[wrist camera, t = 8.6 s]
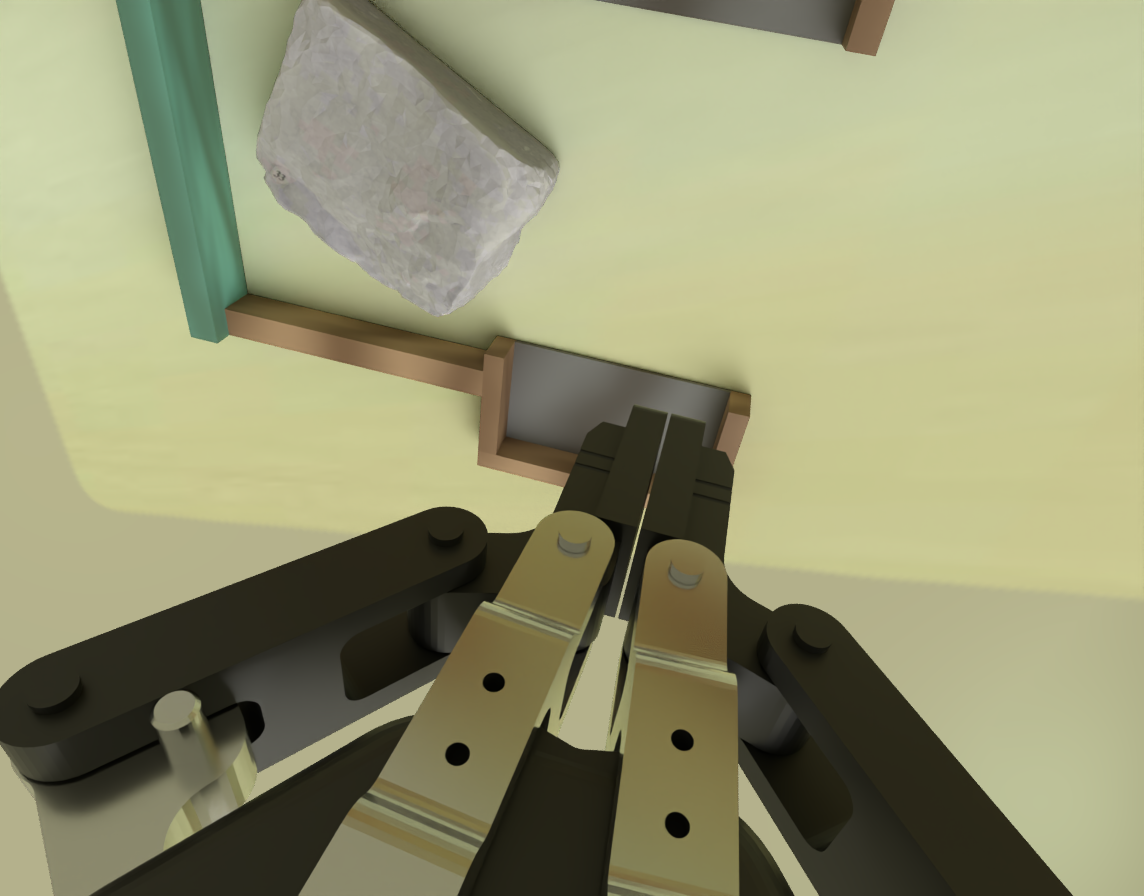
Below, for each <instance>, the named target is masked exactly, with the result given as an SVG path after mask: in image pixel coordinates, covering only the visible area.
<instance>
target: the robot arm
mask: <svg viewBox="0 0 1144 896" xmlns="http://www.w3.org/2000/svg"><path fill="white" fill-rule="evenodd" d="M667 416H668V412H664V411H660V410H656V409H652V408H648V407H644V406H640V405H636V404H634V405H633V408H632V411H631V414H630V416H629V419H628V422H627V425H626V427H623V426H619V425H615V424H611V423H607V422H602V423H600V424H599V425H597V426H596V427H595V428H593V429H592V430H591V431H589V432H588V433H587V435H586V437H585V439H584V442H583V444H582V446H581V449H580V452H579V453H578V456H577V458H576V461H575V464H574V465H573V468H572V470H571V472H570V475H569V477H568V479H567V482H566V484H565V487H564V489H563V491H562V494H561V496H560V498H559V501H558V503H557V505H556V508H555V510H554V512H553V514H550V515H548V516H547V517H545V518H544V519H542V520H541V521H540V522H539V524H538V525H537V527H536V528H535V529H533V530H530V531H526V532H521V533H487V529H486V526H485V524H484V523H483V522H482V520H481V519H480V518H479V517H478V516H476V515H475V514H473V513H471V512H469V511H467V510H464V509H461V508H456V507H437V508H432V509H429V510H425V511H423V512H420V513H418V514H415V515H412V516H410V517H407V518H404V519H402V520H399V521H397V522H394V523H391V524H389V525H386V526H384V527H381V528H378V529H376V530H373V531H370V532H368V533H365V534H363V535H360V536H357V537H355V538H352V539H350V540H347V541H344V542H342V543H339V544H336V545H334V546H331V547H329V548H326V549H324V550H321V551H318V552H316V553H313V554H310V555H308V556H305V557H303V558H300V559H297V560H295V561H292V562H289V563H287V564H284V565H281V566H279V567H276V568H274V569H271V570H268V571H266V572H263V573H261V574H258V575H255V576H253V577H250V578H247V579H245V580H242V581H240V582H237V583H234V584H232V585H229V586H226V587H224V588H221V589H219V590H216V591H213V592H211V593H208V594H206V595H203V596H200V597H198V598H195V599H193V600H190V601H187V602H185V603H182V604H179V605H177V606H174V607H172V608H169V609H166V610H164V611H161V612H158V613H156V614H153V615H151V616H148V617H145V618H143V619H140V620H138V621H135V622H132V623H130V624H127V625H124V626H122V627H119V628H116V629H114V630H111V631H109V632H106V633H103V634H101V635H98V636H96V637H93V638H90V639H88V640H85V641H82V642H80V643H77V644H75V645H72V646H69V647H67V648H64V649H61V650H59V651H56V652H54V653H51V654H49V655H46V656H44V657H41V658H39V659H37V660H35V661H33V662H31V663H30V664H28V665H26V666H25V667H23V668H22V669H20V670H19V671H18V672H16V673H15V674H14V675H13V676H11V677H10V678H9V679H8V680H7V681H6V683H4V684H3V685H2V687H1V688H0V745H1V747H2V748H3V749H4V751H5V752H6V754H7V755H8V756H9V757H10V760H11V765H12V767H13V770H14V772H15V773H16V775H17V776H18V777H19V778H20V780H21V782H22V783H23V784H24V786H25V787H26V788H27V790H28V791H29V793H30V794H31V795H32V797H33V798H34V800H35V801H36V804H37V810H38V815H39V820H40V825H41V831H42V836H43V841H44V847H45V851H46V857H47V863H48V867H49V873H50V878H51V884H52V889H53V894H54V896H794V894H793V892H792V890H791V889H790V887H789V885H788V883H787V881H786V879H785V878H784V876H783V874H782V872H781V871H780V869H779V867H778V865H777V864H776V862H775V860H774V858H773V857H772V855H771V854H770V852H769V851H768V850H767V848H766V847H765V845H764V844H763V842H762V841H761V840H760V838H759V837H758V836H757V835H756V834H755V833H754V832H753V830H752V829H751V828H750V827H749V826H748V825H747V824H746V823H745V822H744V821H743V820H742V819H741V818H740V817H739V812H738V810H739V808H738V807H739V806H738V764H739V765H740V767H741V769H742V770H743V771H744V774H745V775H746V777H747V778H748V780H749V782H750V783H751V785H752V787H753V788H754V790H755V791H756V793H757V795H758V796H759V798H760V800H761V801H762V803H763V805H764V806H765V808H766V809H767V811H768V813H769V814H770V816H771V818H772V819H773V821H774V823H775V824H776V826H777V827H778V829H779V831H780V832H781V834H782V836H783V837H784V839H785V841H786V842H787V844H788V845H789V847H790V849H791V850H792V852H793V854H794V855H795V857H796V858H797V860H798V862H799V863H800V865H801V867H802V868H803V870H804V872H805V873H806V874H807V877H808V878H809V880H810V881H811V883H812V885H813V886H814V888H815V890H816V891H817V893H818V894H819V896H1073V895H1072V894H1071V893H1070V892H1069V891H1068V889H1067V888H1066V887H1065V886H1064V885H1063V883H1062V882H1061V881H1060V880H1059V879H1058V878H1057V877H1056V875H1055V874H1054V873H1053V872H1052V871H1051V870H1050V868H1049V867H1048V866H1047V865H1046V863H1045V862H1044V861H1043V860H1042V859H1041V858H1040V856H1039V855H1038V854H1037V853H1036V852H1035V851H1034V849H1033V848H1032V847H1031V846H1030V845H1029V843H1028V842H1027V841H1026V840H1025V839H1024V838H1023V836H1022V835H1021V834H1020V833H1019V832H1018V831H1017V829H1016V828H1015V827H1014V826H1013V825H1012V824H1011V822H1010V821H1009V820H1008V819H1007V818H1006V817H1005V815H1004V814H1003V813H1002V812H1001V811H1000V809H999V808H998V807H997V806H996V805H995V804H994V802H993V801H992V800H991V799H990V798H989V797H988V795H987V794H986V793H985V792H984V791H983V790H982V789H981V787H980V786H979V785H978V784H977V782H976V781H975V780H974V779H973V778H972V777H971V775H970V774H969V773H968V772H967V771H966V769H965V768H964V767H963V766H962V765H961V764H960V762H959V761H958V760H957V759H956V758H955V757H954V756H953V754H952V753H951V752H950V751H949V750H948V749H947V747H946V746H945V745H944V744H943V742H942V741H941V740H940V739H939V738H938V737H937V735H936V734H935V733H934V732H933V731H932V730H931V729H930V727H929V726H928V725H927V724H926V723H925V721H924V720H923V719H922V718H921V717H920V715H919V714H918V713H917V712H916V711H915V710H914V708H913V707H912V706H911V705H910V704H909V703H908V701H907V700H906V699H905V698H904V697H903V695H902V694H901V693H900V692H899V691H898V690H897V688H896V687H895V686H894V685H893V684H892V683H891V681H890V680H889V679H888V678H887V677H886V676H885V675H884V673H883V672H882V671H881V670H880V669H879V667H878V666H877V665H876V664H875V663H874V661H873V660H872V659H871V658H870V657H869V656H868V654H867V653H866V652H865V651H864V650H863V649H862V647H861V646H860V645H859V644H858V643H857V642H856V640H855V639H854V638H853V637H852V636H851V634H850V633H849V632H848V631H847V630H846V629H845V627H844V626H843V625H842V624H841V623H840V622H839V621H837V620H836V619H835V618H834V617H832V616H831V615H829V614H828V613H826V612H824V611H822V610H820V609H817V608H815V607H812V606H808V605H804V604H788V605H784V606H781V607H779V608H777V609H776V610H774V611H771V610H769V609H768V608H766V607H764V606H762V605H760V604H758V603H757V602H755V601H753V600H752V599H750V598H749V597H747V596H746V595H745V594H743V593H742V592H741V591H740V590H739V589H738V588H737V587H736V586H735V585H734V584H733V582H732V581H731V580H730V578H729V576H728V575H727V572H726V569H725V566H724V553H725V545H726V536H727V528H728V520H729V511H730V503H731V494H732V486H733V478H734V469H733V466H732V464H731V462H730V460H729V458H728V456H727V454H726V452H723V451H719V450H715V449H711V448H707V447H703V446H702V442H703V437H704V431H705V426H706V422H705V421H701V420H697V419H693V418H689V417H685V416H681V415H677V414H673V413H671V417H670V421H669V424H668V428H667V432H666V436H665V439H664V443H663V447H662V451H661V455H660V458H659V462H658V466H657V470H656V474H655V477H654V481H653V485H652V489H651V492H650V496H649V500H648V504H647V508H646V511H645V515H644V519H643V523H642V526H641V530H640V534H639V538H638V542H637V546H636V550H635V554H634V558H633V562H632V566H631V570H630V574H629V578H628V582H627V586H626V590H625V594H624V598H623V602H622V605H621V609H620V613H619V619H622V620H626V621H629V622H628V626H627V630H626V634H625V638H624V642H623V646H622V649H621V653H620V657H619V662H618V669H617V676H616V682H615V688H614V695H613V701H612V708H611V715H610V721H609V727H608V734H607V740H606V747H605V751H598V750H582V749H578V748H575V747H573V746H571V745H569V744H568V743H566V742H564V741H563V740H561V739H559V738H558V737H557V736H558V733H559V731H560V728H561V725H562V723H563V720H564V718H565V715H566V712H567V710H568V707H569V705H570V702H571V700H572V697H573V695H574V692H575V690H576V687H577V685H578V682H579V679H580V677H581V674H582V672H583V669H584V667H585V664H586V662H587V659H588V657H589V654H590V651H591V648H592V644H593V641H594V640H595V639H596V637H597V635H598V633H599V630H600V626H601V623H602V619H603V616H604V615H607V616H611V617H615V614H616V611H617V607H618V603H619V599H620V596H621V592H622V588H623V585H624V581H625V577H626V573H627V570H628V566H629V562H630V559H631V555H632V551H633V547H634V544H635V540H636V536H637V532H638V529H639V525H640V521H641V518H642V514H643V510H644V506H645V503H646V499H647V495H648V491H649V487H650V484H651V480H652V476H653V472H654V468H655V464H656V460H657V456H658V452H659V448H660V444H661V440H662V436H663V432H664V428H665V424H666V420H667ZM434 679H436V680H435V681H434V683H433V685H432V686H431V688H430V690H429V691H428V693H427V695H426V696H425V698H424V700H423V702H422V704H421V705H420V707H419V708H418V711H417V712H416V714H415V715H412V716H408V717H404V718H400V719H397V720H394V721H391V722H389V723H387V724H384V725H382V726H380V727H377V728H375V729H373V730H371V731H369V732H368V733H366V734H364V735H362V736H361V737H359V738H357V739H355V740H354V741H352V742H350V743H349V744H347V745H345V746H343V747H342V748H340V749H338V750H337V751H335V752H333V753H332V754H330V755H328V756H327V757H325V758H323V759H321V760H320V761H318V762H316V763H314V764H313V765H311V766H309V767H308V768H306V769H304V770H302V771H301V772H299V773H297V774H295V775H294V776H292V777H290V778H289V779H287V780H285V781H284V782H282V783H280V784H278V785H277V786H275V787H273V788H271V789H270V790H268V791H266V792H265V793H263V794H261V795H259V796H258V797H256V798H254V799H253V800H251V801H249V802H247V803H246V804H244V802H245V801H246V800H247V798H248V797H249V795H250V793H251V791H252V789H253V787H254V784H255V781H256V777H257V773H259V772H260V771H262V770H264V769H266V768H268V767H270V766H272V765H274V764H275V763H277V762H279V761H281V760H283V759H285V758H287V757H289V756H291V755H293V754H295V753H296V752H298V751H300V750H302V749H304V748H306V747H308V746H310V745H312V744H313V743H315V742H317V741H319V740H321V739H323V738H325V737H326V736H329V735H330V734H332V733H334V732H336V731H338V730H340V729H342V728H344V727H346V726H347V725H349V724H351V723H353V722H355V721H357V720H359V719H361V718H363V717H365V716H366V715H368V714H370V713H372V712H374V711H376V710H378V709H380V708H382V707H383V706H385V705H387V704H389V703H391V702H393V701H395V700H397V699H399V698H400V697H402V696H404V695H406V694H408V693H410V692H412V691H414V690H416V689H417V688H419V687H421V686H423V685H425V684H427V683H429V682H431V681H433V680H434ZM243 804H244V805H243Z"/></svg>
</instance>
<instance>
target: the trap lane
mask: <svg viewBox="0 0 1144 896" xmlns="http://www.w3.org/2000/svg"><path fill="white" fill-rule="evenodd" d="M597 1H603V2H608V3H614V4H619V5H625V6H630V7H636V8H642V9H647V10H653V11H658V12H664V13H669V14H675V15H681V16H686V17H692V18H697V19H703V20H708V21H714V22H720V23H725V24H731V25H736V26H742V27H747V28H753V29H758V30H764V31H770V32H775V33H781V34H786V35H792V36H797V37H803V38H809V39H814V40H820V41H825V42H831V43H836V44H842V46H843V47H844V49H845V51H850V52H855V53H861V54H866V55H872V56H876V53H877V50H878V47H879V45H880V42H881V39H882V36H883V33H884V30H885V27H886V24H887V22H888V19H889V16H890V13H891V10H892V7H893V4H894V1H895V0H597ZM116 3H117V8H118V12H119V17H120V21H121V26H122V30H123V35H124V39H125V43H126V48H127V52H128V57H129V61H130V66H131V70H132V75H133V79H134V84H135V88H136V93H137V97H138V102H139V106H140V111H141V115H142V119H143V124H144V128H145V133H146V137H147V142H148V146H149V151H150V155H151V160H152V164H153V169H154V173H155V178H156V182H157V187H158V191H159V195H160V200H161V204H162V209H163V213H164V218H165V222H166V227H167V231H168V236H169V240H170V245H171V249H172V254H173V258H174V263H175V267H176V271H177V276H178V280H179V285H180V289H181V294H182V298H183V303H184V307H185V312H186V316H187V321H188V325H189V330H190V334H191V337H194V338H198V339H202V340H206V341H210V342H214V343H219V342H220V341H221V340H223V339H224V338H226V337H227V336H228V335H232V336H236V337H240V338H245V339H249V340H253V341H257V342H261V343H265V344H269V345H273V346H277V347H281V348H285V349H289V350H294V351H298V352H302V353H306V354H310V355H314V356H318V357H322V358H326V359H330V360H334V361H338V362H342V363H347V364H351V365H355V366H359V367H363V368H367V369H371V370H375V371H379V372H383V373H387V374H391V375H395V376H400V377H404V378H408V379H412V380H416V381H420V382H424V383H428V384H432V385H436V386H440V387H444V388H449V389H453V390H457V391H461V392H465V393H469V394H473V395H477V396H481V397H482V399H481V415H480V430H479V446H478V462H477V465H479V466H483V467H487V468H491V469H495V470H499V471H503V472H506V473H510V474H514V475H518V476H522V477H526V478H530V479H534V480H538V481H542V482H545V483H549V484H553V485H557V486H561V487H565V484H566V482H567V479H568V477H569V475H570V472H571V470H572V468H573V465H574V464H575V461H576V458H577V456H578V453H579V452H580V449H581V446H582V444H583V442H584V439H585V437H586V435H587V433H588V432H589V431H591V430H592V429H593V428H595V427H596V426H597V425H599V424H600V423H602V422H607V423H611V424H615V425H619V426H623V427H626V425H627V422H628V419H629V416H630V414H631V411H632V408H633V405H634V404H636V405H640V406H644V407H648V408H652V409H656V410H660V411H664V412H668V416H667V420H666V424H665V428H664V432H663V436H662V440H661V444H660V448H659V452H658V456H657V460H656V464H655V468H654V472H653V476H652V480H651V484H650V487H649V491H648V495H647V499H646V503H645V506H644V508H647V504H648V500H649V496H650V492H651V489H652V485H653V481H654V477H655V474H656V470H657V466H658V462H659V458H660V455H661V451H662V447H663V443H664V439H665V436H666V432H667V428H668V424H669V421H670V417H671V413H673V414H677V415H681V416H685V417H689V418H693V419H697V420H701V421H705V422H706V426H705V431H704V437H703V442H702V446H703V447H707V448H711V449H715V450H719V451H723V452H726V454H727V456H728V458H729V460H730V462H731V464H732V466H733V464H734V461H735V458H736V455H737V453H738V450H739V447H740V444H741V441H742V438H743V435H744V432H745V430H746V427H747V424H748V421H749V418H750V405H751V395H748V394H744V393H739V392H735V391H731V390H727V389H722V388H718V387H714V386H710V385H705V384H701V383H697V382H693V381H688V380H684V379H680V378H676V377H671V376H667V375H663V374H659V373H654V372H650V371H646V370H641V369H637V368H633V367H629V366H624V365H620V364H616V363H612V362H607V361H603V360H599V359H595V358H590V357H586V356H582V355H578V354H573V353H569V352H565V351H561V350H556V349H552V348H548V347H544V346H539V345H535V344H531V343H527V342H522V341H518V340H514V339H510V338H505V337H501V336H497V337H496V338H495V339H494V341H493V342H492V344H491V345H490V347H489V348H488V349H487V350H483V349H478V348H474V347H470V346H466V345H462V344H457V343H453V342H449V341H445V340H441V339H436V338H432V337H428V336H424V335H420V334H415V333H411V332H407V331H403V330H398V329H394V328H390V327H386V326H382V325H377V324H373V323H369V322H365V321H361V320H356V319H352V318H348V317H344V316H340V315H335V314H331V313H327V312H323V311H319V310H314V309H310V308H306V307H302V306H298V305H293V304H289V303H285V302H281V301H276V300H272V299H268V298H264V297H260V296H255V295H251V294H248V293H247V287H246V281H245V275H244V269H243V263H242V256H241V250H240V244H239V238H238V232H237V226H236V219H235V213H234V207H233V201H232V195H231V188H230V182H229V176H228V170H227V164H226V158H225V151H224V145H223V139H222V133H221V127H220V121H219V114H218V108H217V102H216V96H215V90H214V83H213V77H212V71H211V65H210V59H209V53H208V46H207V40H206V34H205V28H204V22H203V16H202V9H201V3H200V0H116Z"/></svg>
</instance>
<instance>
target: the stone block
mask: <svg viewBox="0 0 1144 896" xmlns="http://www.w3.org/2000/svg"><path fill="white" fill-rule="evenodd" d="M256 153H257V159H258V160H259V162H260V163H261V165H262V166H263V168H264V169H265V171H266V173H265V176H264V179H265V182H266V184H267V185H268V187H269V188H270V190H271V191H272V193H273V195H274V197H275V199H276V201H277V202H278V203H279V204H280V205H281V206H282V207H283V208H284V209H286V210H288V211H290V212H292V213H294V214H296V215H297V216H299V217H301V218H302V219H303V220H304V221H305V222H306V223H307V224H308V225H309V227H310V228H311V230H312V231H313V232H314V234H315V235H317V236H318V237H319V238H320V239H321V240H322V241H324V242H325V243H326V244H327V245H328V246H330V247H331V248H332V249H333V250H335V251H336V252H337V253H339V254H340V255H342V256H344V257H346V258H347V259H349V260H350V261H352V262H356V263H357V264H358V265H359V266H360V267H361V268H362V269H363V270H365V271H366V272H367V273H368V274H369V275H370V276H371V277H373V278H374V279H376V280H378V281H380V282H381V283H382V284H384V285H385V286H387V287H389V288H392V289H395V290H397V291H398V292H399V293H400V294H401V296H402V297H403V298H405V299H407V300H409V301H410V302H412V303H413V304H415V305H417V306H418V307H420V308H421V309H423V310H425V311H426V312H428V313H430V314H431V315H434V316H437V317H439V316H442V315H446V314H450V313H451V312H453V311H454V310H456V309H457V308H459V307H462V306H464V305H465V304H466V303H468V302H469V301H470V300H472V299H473V298H474V297H475V296H476V294H477V293H478V292H479V291H481V290H482V289H483V288H484V287H485V286H486V285H487V284H488V282H489V281H490V280H491V279H493V278H494V277H496V276H498V275H499V274H500V272H501V271H502V270H503V269H504V268H505V267H506V266H507V265H508V262H509V259H510V257H511V255H512V252H513V250H514V248H515V245H516V244H517V243H518V242H519V239H520V234H521V229H522V228H523V226H524V225H525V224H526V223H527V222H529V221H530V219H532V218H533V217H534V216H536V215H537V214H538V212H539V210H540V209H541V207H542V206H543V205H544V203H545V201H546V199H547V197H548V195H549V194H550V193H551V191H552V190H553V188H554V185H555V183H556V180H557V175H558V173H559V163H558V161H557V159H556V158H555V156H554V155H553V154H552V153H551V152H550V151H549V150H548V149H547V148H545V147H544V146H543V145H542V144H541V143H540V142H539V141H538V140H537V139H535V138H534V137H533V136H532V135H530V134H529V133H528V132H527V131H525V130H524V129H523V128H522V127H520V126H519V125H518V124H517V123H516V122H514V121H513V120H512V119H511V118H509V117H508V116H507V115H506V114H505V113H503V112H502V111H501V110H500V109H498V108H497V107H496V106H495V105H494V104H492V103H491V102H490V101H489V100H487V99H486V98H485V97H484V96H483V95H481V94H480V93H479V92H478V91H477V90H476V89H474V88H473V87H472V86H471V85H470V84H468V83H467V82H466V81H465V80H463V79H462V78H461V77H459V76H458V75H457V74H456V73H455V72H453V71H452V70H451V69H450V68H449V67H447V66H446V65H445V64H444V63H443V62H442V61H441V60H439V59H438V58H437V57H436V56H434V55H433V54H432V53H431V52H429V51H428V50H427V49H426V48H424V47H423V46H422V45H420V44H419V43H417V42H416V41H415V40H414V39H413V38H412V37H411V36H409V35H408V34H407V33H406V32H405V31H403V30H402V29H401V28H400V27H399V26H398V25H396V24H395V23H394V22H393V21H392V20H391V19H390V18H388V17H387V16H386V15H385V14H384V13H383V12H381V11H380V10H379V9H377V8H376V7H375V6H374V5H373V4H371V3H370V2H369V1H368V0H302V1H301V3H300V5H299V7H298V9H297V11H296V14H295V16H294V24H293V29H292V32H291V34H290V36H289V38H288V40H287V47H286V54H285V57H284V59H283V62H282V65H281V68H280V71H279V73H278V76H277V78H276V81H275V84H274V87H273V90H272V93H271V96H270V98H269V100H268V102H267V104H266V107H265V111H264V115H263V119H262V122H261V126H260V130H259V132H258V137H257V148H256Z"/></svg>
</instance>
